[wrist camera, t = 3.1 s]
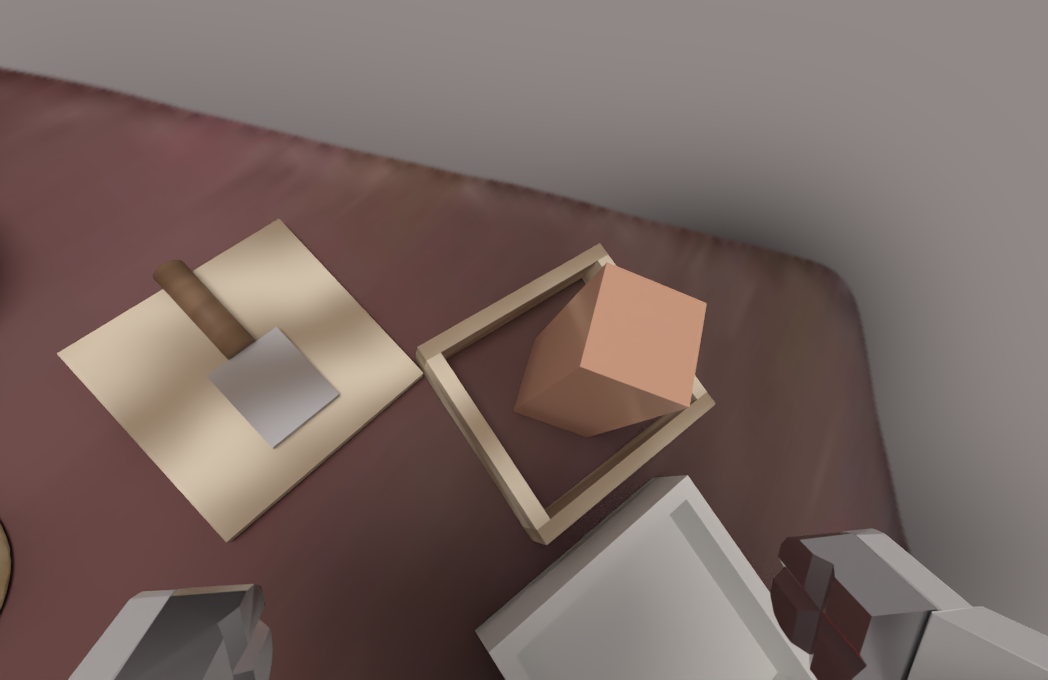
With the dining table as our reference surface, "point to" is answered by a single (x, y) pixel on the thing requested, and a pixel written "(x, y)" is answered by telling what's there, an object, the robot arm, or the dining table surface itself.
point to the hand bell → (4, 565)
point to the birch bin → (485, 443)
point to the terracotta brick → (614, 356)
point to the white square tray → (646, 603)
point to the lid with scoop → (243, 374)
